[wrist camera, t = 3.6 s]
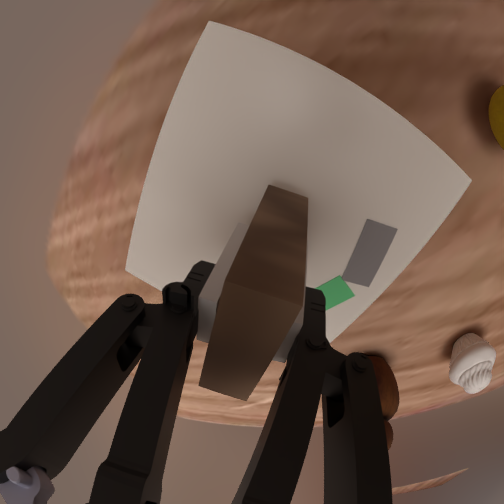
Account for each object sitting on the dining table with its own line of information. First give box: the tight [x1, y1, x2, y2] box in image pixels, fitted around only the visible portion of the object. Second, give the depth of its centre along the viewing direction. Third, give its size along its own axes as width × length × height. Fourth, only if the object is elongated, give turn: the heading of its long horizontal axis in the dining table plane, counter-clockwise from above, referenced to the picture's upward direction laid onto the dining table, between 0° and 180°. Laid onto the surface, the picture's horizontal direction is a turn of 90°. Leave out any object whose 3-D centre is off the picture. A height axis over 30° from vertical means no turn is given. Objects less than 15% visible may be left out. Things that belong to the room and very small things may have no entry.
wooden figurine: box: [368, 356, 399, 450], centre depth 21 cm, size 7×6×15 cm
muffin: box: [449, 333, 496, 394], centre depth 20 cm, size 6×6×7 cm
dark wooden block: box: [198, 185, 308, 401], centre depth 16 cm, size 2×13×10 cm, turn 165°
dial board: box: [125, 21, 472, 343], centre depth 19 cm, size 20×22×2 cm
